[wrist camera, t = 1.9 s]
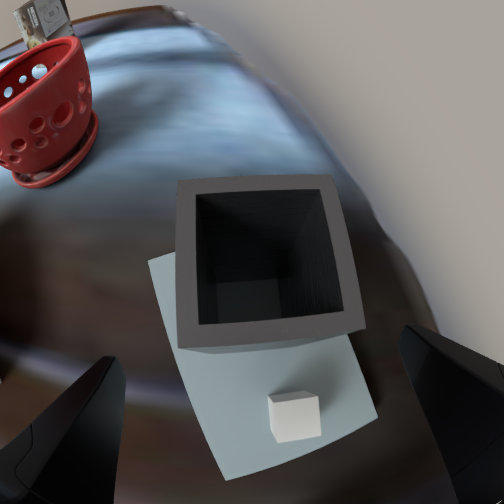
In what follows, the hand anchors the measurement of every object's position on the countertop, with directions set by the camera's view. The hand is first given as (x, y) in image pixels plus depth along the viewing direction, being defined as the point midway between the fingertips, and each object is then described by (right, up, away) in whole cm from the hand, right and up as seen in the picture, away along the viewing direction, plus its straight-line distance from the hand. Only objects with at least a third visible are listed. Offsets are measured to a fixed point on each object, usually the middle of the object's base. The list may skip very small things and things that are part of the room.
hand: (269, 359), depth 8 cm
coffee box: (-38, +41, +26) cm, 62 cm away
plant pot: (-22, +14, +17) cm, 31 cm away
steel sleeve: (-1, -1, +10) cm, 10 cm away
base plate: (0, -3, +11) cm, 11 cm away
